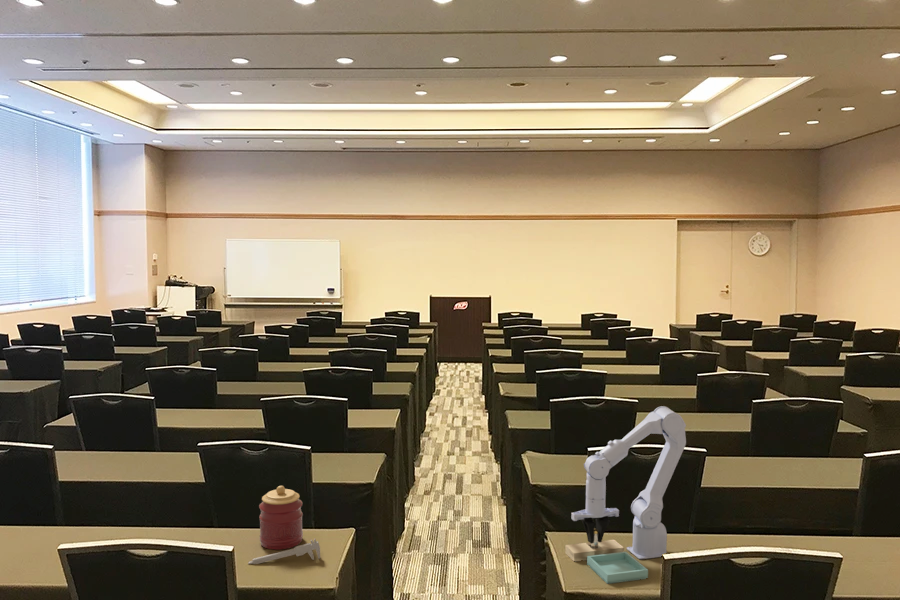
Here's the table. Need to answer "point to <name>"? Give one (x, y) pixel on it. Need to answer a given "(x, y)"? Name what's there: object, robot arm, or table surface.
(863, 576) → the table surface
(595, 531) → the pin
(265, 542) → the canister
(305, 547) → the caliper
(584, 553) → the beige slotted block
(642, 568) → the tray
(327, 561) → the table surface
